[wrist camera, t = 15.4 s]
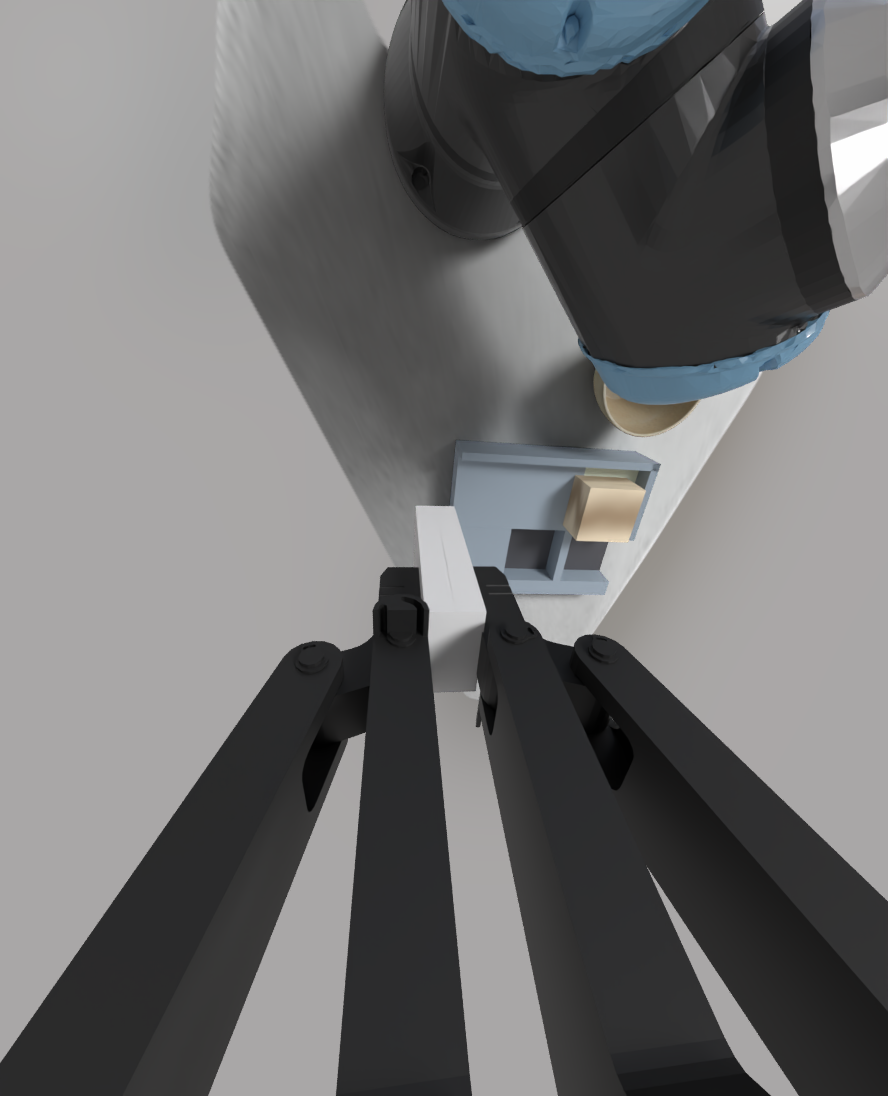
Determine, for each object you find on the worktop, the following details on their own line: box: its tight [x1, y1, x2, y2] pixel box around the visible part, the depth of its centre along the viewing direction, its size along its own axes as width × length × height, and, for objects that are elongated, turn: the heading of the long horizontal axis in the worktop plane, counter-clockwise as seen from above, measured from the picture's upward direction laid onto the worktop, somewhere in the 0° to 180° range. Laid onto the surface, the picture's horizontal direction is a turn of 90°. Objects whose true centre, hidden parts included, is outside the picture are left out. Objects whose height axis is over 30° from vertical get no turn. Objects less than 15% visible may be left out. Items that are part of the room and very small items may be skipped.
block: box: [563, 475, 646, 542], centre depth 43 cm, size 6×6×4 cm
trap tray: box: [450, 440, 661, 595], centre depth 47 cm, size 18×21×5 cm
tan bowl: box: [593, 369, 701, 437], centre depth 38 cm, size 10×10×7 cm
